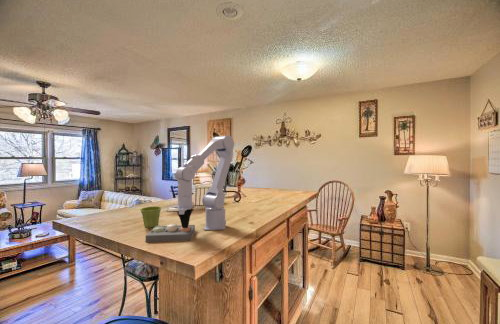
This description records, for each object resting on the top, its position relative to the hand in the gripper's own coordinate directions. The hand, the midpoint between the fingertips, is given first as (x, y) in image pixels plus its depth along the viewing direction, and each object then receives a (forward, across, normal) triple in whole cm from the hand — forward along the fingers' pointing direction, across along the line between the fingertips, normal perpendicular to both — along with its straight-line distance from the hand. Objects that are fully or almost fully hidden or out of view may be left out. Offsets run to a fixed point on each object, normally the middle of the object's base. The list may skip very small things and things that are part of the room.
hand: (185, 227), depth 95 cm
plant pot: (+4, -15, -19) cm, 24 cm away
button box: (+3, 0, -6) cm, 6 cm away
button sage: (+3, 0, -11) cm, 11 cm away
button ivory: (+2, 0, -6) cm, 6 cm away
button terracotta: (+3, 0, 0) cm, 3 cm away
